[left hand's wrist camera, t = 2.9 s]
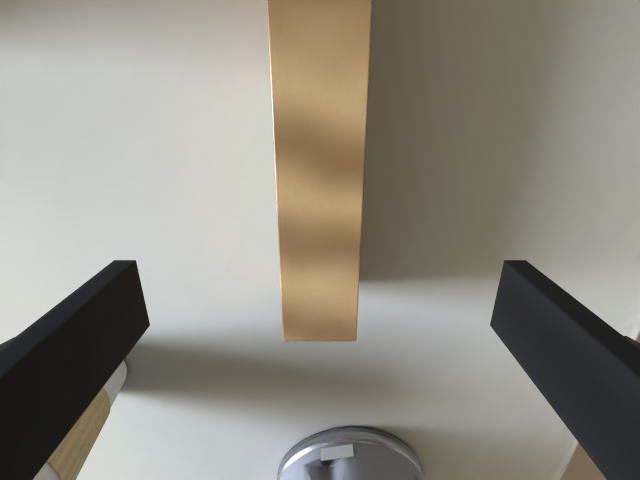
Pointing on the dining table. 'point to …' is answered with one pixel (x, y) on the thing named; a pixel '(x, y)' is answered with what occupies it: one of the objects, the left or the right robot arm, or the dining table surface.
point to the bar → (319, 160)
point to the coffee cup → (83, 433)
